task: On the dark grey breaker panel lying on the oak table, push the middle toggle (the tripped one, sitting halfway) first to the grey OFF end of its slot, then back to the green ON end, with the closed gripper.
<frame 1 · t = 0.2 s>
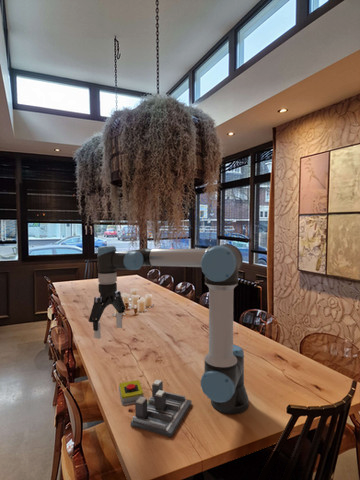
hand: (108, 332, 121), 27 cm above the table, fingers open, 13 cm apart
emergency button: (130, 395, 124), on the table
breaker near: (141, 408, 105), point 5 cm above the table, slide at 4.5 cm
breaker far: (157, 389, 117), point 5 cm above the table, slide at 4.5 cm
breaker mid: (160, 401, 110), point 5 cm above the table, slide at 0.0 cm
panel: (162, 414, 109), on the table
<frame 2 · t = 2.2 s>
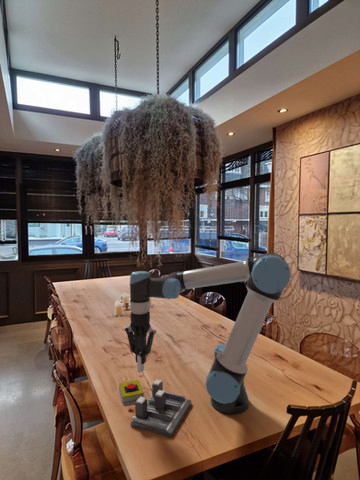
hand: (140, 370, 112), 15 cm above the table, fingers closed
nothing on the table moved.
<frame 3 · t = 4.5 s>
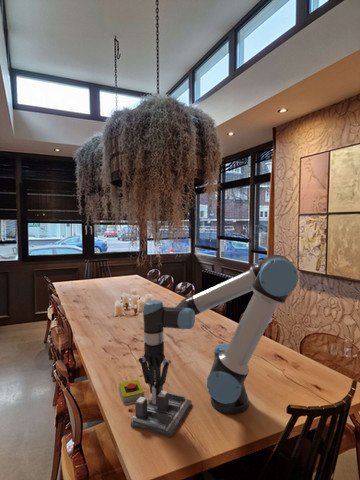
hand: (155, 401, 111), 4 cm above the table, fingers closed
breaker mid: (163, 401, 109), point 5 cm above the table, slide at -1.2 cm, touching gripper
everything else where it was.
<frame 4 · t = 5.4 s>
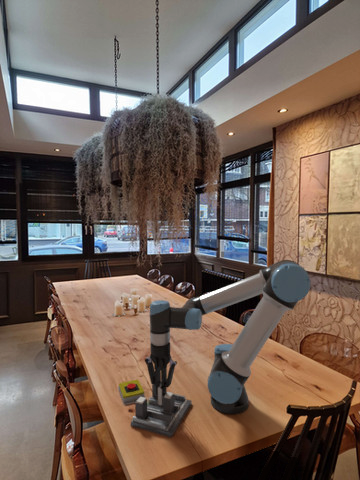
hand: (161, 402, 110), 4 cm above the table, fingers closed
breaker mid: (168, 403, 108), point 5 cm above the table, slide at -3.6 cm, touching gripper
everything else where it was.
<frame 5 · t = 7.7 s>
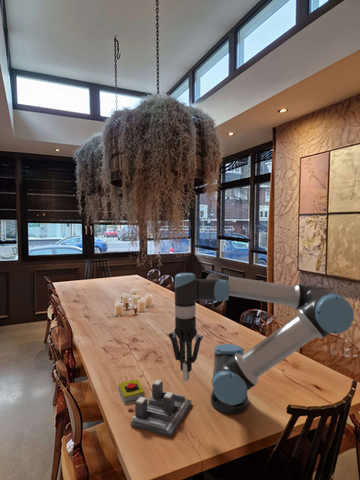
hand: (186, 379, 105), 16 cm above the table, fingers closed
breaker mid: (168, 403, 108), point 5 cm above the table, slide at -3.6 cm
everything else where it was.
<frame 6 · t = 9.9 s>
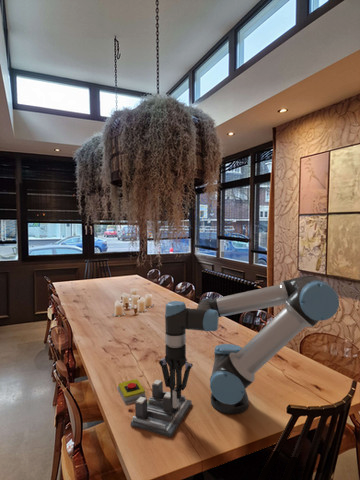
hand: (175, 405, 107), 5 cm above the table, fingers closed
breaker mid: (168, 403, 108), point 5 cm above the table, slide at -3.5 cm, touching gripper
everything else where it was.
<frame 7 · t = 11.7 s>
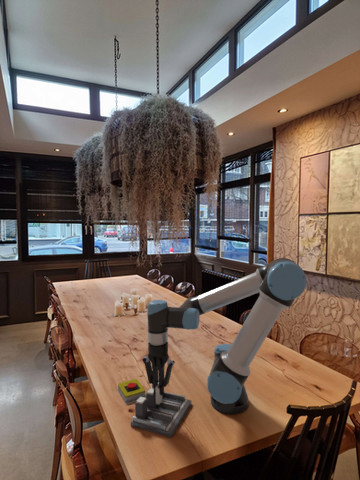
hand: (159, 402, 110), 4 cm above the table, fingers closed
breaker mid: (151, 399, 111), point 5 cm above the table, slide at 3.6 cm, touching gripper
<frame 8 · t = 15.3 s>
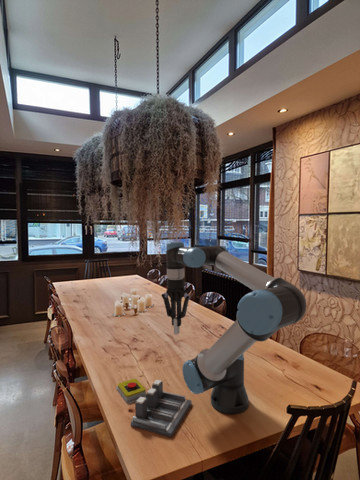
hand: (176, 333, 122), 26 cm above the table, fingers closed
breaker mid: (151, 399, 111), point 5 cm above the table, slide at 3.6 cm
at the end: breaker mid slide at 3.6 cm; breaker far slide at 4.5 cm; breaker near slide at 4.5 cm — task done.
